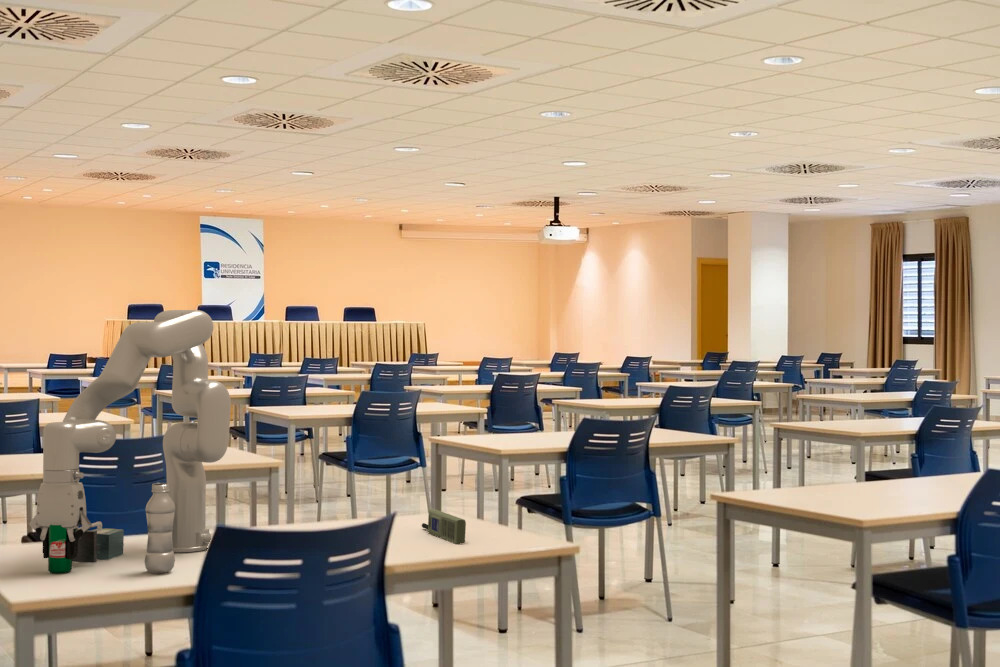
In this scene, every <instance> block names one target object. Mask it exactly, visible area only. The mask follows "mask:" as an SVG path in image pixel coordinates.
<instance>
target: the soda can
mask: <svg viewBox="0 0 1000 667" xmlns="http://www.w3.org/2000/svg"><path fill="white" fill-rule="evenodd" d="M68 541H69V536H68V532H67V528H63V527H62V526H61V525H60V524H58V523H52V524H50V526H49V530H48V558H47V571H48V572H49V573H50V574H53V575H63V574H68V573H71V571H72V570H73V562H72V559H67V542H68Z"/></svg>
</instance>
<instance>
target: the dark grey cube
mask: <svg viewBox="0 0 1000 667" xmlns="http://www.w3.org/2000/svg"><path fill="white" fill-rule="evenodd" d="M90 531H97V528H96V529H91V530H90ZM124 533H125V532H124V529H122V528H121V529H116V528H102V531H97V545H99V546H100V550H99V551H97V560H106V561H108V560H109V561H110V560H112V559H115V558H117V557H120V556H122V555H124V541H125V540H124V539H125V537H124Z"/></svg>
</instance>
